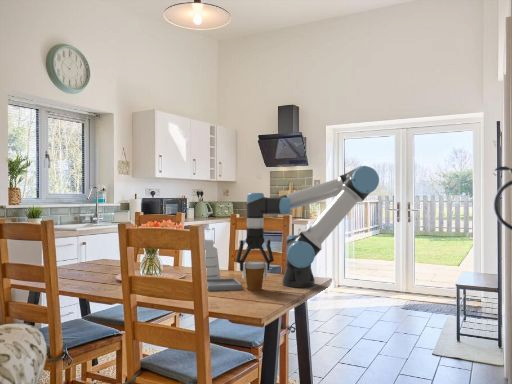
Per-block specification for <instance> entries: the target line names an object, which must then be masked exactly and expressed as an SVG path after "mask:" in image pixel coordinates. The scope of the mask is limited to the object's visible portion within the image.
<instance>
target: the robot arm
mask: <svg viewBox="0 0 512 384" xmlns="http://www.w3.org/2000/svg"><path fill="white" fill-rule="evenodd" d="M379 182H380V177H379V174H378V172H377V171H376V170H375V169H374V168H373V167H370V166H367V165H362V166H361V165H360V166H358V167H355V168H353V169H352V170H350V171H348V172H346V173H344V174H341V175H338V177H337V178H334V179H332V180H329V181H326V182H322V183H319V184H316V185H313V186H310V187H306V188H303V189H299V190H297V191H292V192H290V193H286V194H284V195H280V196H276V197H268V196H267V197H266V196H265V195H264V193H263V192H249V193H248V194H247V195H246V227H247V228H246V238H245V239H239V247H238V249H237V250H238V251H237V253H236V258H235V262H236V263H237V264H239V271H240V272H241V278H242V279H243V280H245V279H246V272H245V262H246V259H247V257H248V256H249V254H250V252H251V250H254V249H255V250H256V249H257V250H259V251H260V253H261V255H262V257H263V259H264V260H265V262H264V263H265V268H264V275H263V279H264V278H265V279H268V271H270V264H271V263H273V262H274V261H275V259H274V256H273V255H274V254H273V251H272V247H271V240H270V239H265V238H264V230H265V229H264V228H263V227H264V225H265V224H264V221H265V220H264V219H265V217H264V215H282V216H284V215H291V211H292V210H295V209H298V208H301V207H305V206H308V205H310V204H311V205H312V204H314V203H317V202H318V203H319V202H321V201H324V200H328V199H330V198H333V200H332V201H331V202H330V203H329V204H328V206H326V208H324V210H323V211H322V212H321V214H320V215H318V217H317V218H316V220H314V222H313V223H312V224H311V225H310V226H309V228H308V229H306V230H305V231H303V230H302V231H300V233H298V235H297V234H295V235H288V236H287V237H286V239H285V243H286V244H285V245H286V246H285V247H286V249H285V251H286V253H285V254H286V257H285V258H286V260H285V261H286V262H285V263H286V264H285V265H286V266H285V267H286V268H285V271H284V274H283V277H282V285H283V286H285V287H290V288H309V287H310V288H311V287H314V286H315V283H316V282H315V281H316V280H315V277H314V274H313V271H312V264H313V262H314V261H315V258H316V256H317V255H318V254H319V253H320V252H321V250H322V248H323V247H322V243H324V241H325V240H326V239H327V238H328V237H329V236H330V234H331V233H332V232H333V231H334V230H335V229H336V228H337V226H338V225H339V224H340V223H341V222H342V221H343V219H345V217H346V216H347V215H348V214H349V212H350V211H352V210H353V208H354V207H355V206H356V204H357V203H363V202H364V200H365V199H366V198H367V197H368V196H369V195H370V194H371V193H373V192H374V191H376V189H377V188H378V186H379ZM245 244H246V245H247V246H246V249H245V251H244V253H243V250H244V246H245ZM263 244H265V246H266V249H267V254H268V256H267V254H266V252H265V251H266V250H264V247H263Z"/></svg>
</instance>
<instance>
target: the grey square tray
mask: <svg viewBox="0 0 512 384" xmlns="http://www.w3.org/2000/svg"><path fill="white" fill-rule="evenodd" d="M207 286H208V290H207V291H208V292H213V291H214V292H217V291H238V290H239V291H240V290H243V289H242V287H243V285H242V283H241V282H240V281H239V280H238V279H237V278H236V277H235V278H234V277H232V278H231V277H230V278H228V277H227V278H220V279H207Z"/></svg>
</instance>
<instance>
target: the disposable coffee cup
mask: <svg viewBox="0 0 512 384" xmlns="http://www.w3.org/2000/svg"><path fill="white" fill-rule="evenodd" d="M265 263H266V262H264V261H260V260H258V261H257V260H251V261H244V264H245V279H246V287H247V289H246V290H247V291H249V292H259V291H262V288H263V281H264V268H265Z"/></svg>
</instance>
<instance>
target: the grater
mask: <svg viewBox="0 0 512 384" xmlns="http://www.w3.org/2000/svg"><path fill="white" fill-rule="evenodd" d="M204 239H205V250H206V268H207V279H221V273H220V264H219V263H220V262H219V256H218V254H219V253H218V248H217V247H215V246H214V239H212V238H204Z"/></svg>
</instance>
